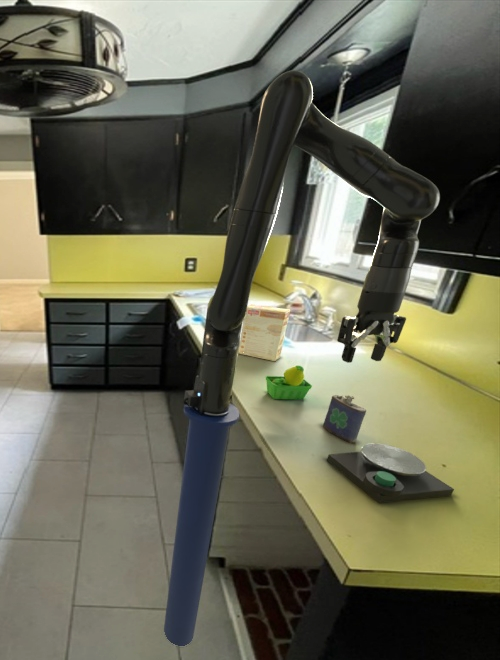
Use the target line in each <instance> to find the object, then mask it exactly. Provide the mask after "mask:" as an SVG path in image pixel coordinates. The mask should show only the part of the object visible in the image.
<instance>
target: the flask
mask: <svg viewBox="0 0 500 660" xmlns="http://www.w3.org/2000/svg"><path fill="white" fill-rule="evenodd" d="M353 400H355V397H354V395H351V396H350V395H347V394H346V395H337V394H334V395H332V396H331V399H330V402H329V405H328V409H327V412H326V415H325V418H324V421H323V424H322V427H323V428H324V429H325V430H326V431H327V432H329V433H330V434H332V435H334V436H336V437H338V438H339V439H341V440H342V441H344V442H347V443H349V444H355V443H356V442H357V439H358V436H359V433H360V430H361V427H362V424H363V422H364V418H365V416H366V414H367V409H366V408H364V407H362V406H359V405H358V404H355V403H353Z"/></svg>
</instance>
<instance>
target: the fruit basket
mask: <svg viewBox="0 0 500 660" xmlns="http://www.w3.org/2000/svg"><path fill="white" fill-rule="evenodd" d="M304 371H305V370H304V367H303V366H301V365H294V366H292V367H290V368H288V369H286V370H285V371H284V373H283V376H278V375H277V376H276V375H275V376H274V375H273V376H272V375H266V376H265V381H266V382H265V383H266V392H267V393H268V394H269V396H271V398H272V399H273V400H298V401H302V400H304V398H305V397H306V395H308V392H309V391H310V390H311V388H312V387H313V385H312V384H310V382H308V381H307V380H306V379H305V373H304Z"/></svg>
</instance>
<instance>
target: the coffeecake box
mask: <svg viewBox="0 0 500 660" xmlns="http://www.w3.org/2000/svg"><path fill="white" fill-rule="evenodd" d="M290 313H291V309H289V308H281V307H280V308H279V307H273V306H264V305H256V304H250V305H247V311H246V316H245V318H244V320H243V322H242V328H241V334H240V346H239V352H238V355H243V356H244V355H245V356H249V357H253V358H259V359H263V360H268V361H272V362H276V361H278V360H279V359H280V358H281V355H282V351H283V346H284V341H285V336H286V331H287V327H288V323H289V318H290ZM243 352H244V353H243Z"/></svg>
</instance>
